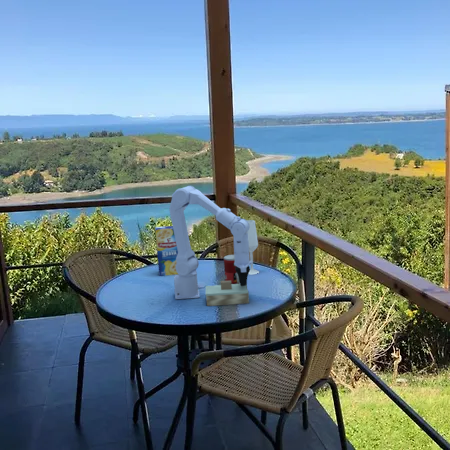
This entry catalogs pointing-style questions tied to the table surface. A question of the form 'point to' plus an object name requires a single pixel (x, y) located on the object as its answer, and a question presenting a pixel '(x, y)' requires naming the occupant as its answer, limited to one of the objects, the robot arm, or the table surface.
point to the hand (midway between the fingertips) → (243, 285)
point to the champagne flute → (252, 243)
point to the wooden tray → (227, 299)
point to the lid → (226, 289)
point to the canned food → (230, 269)
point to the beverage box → (166, 250)
